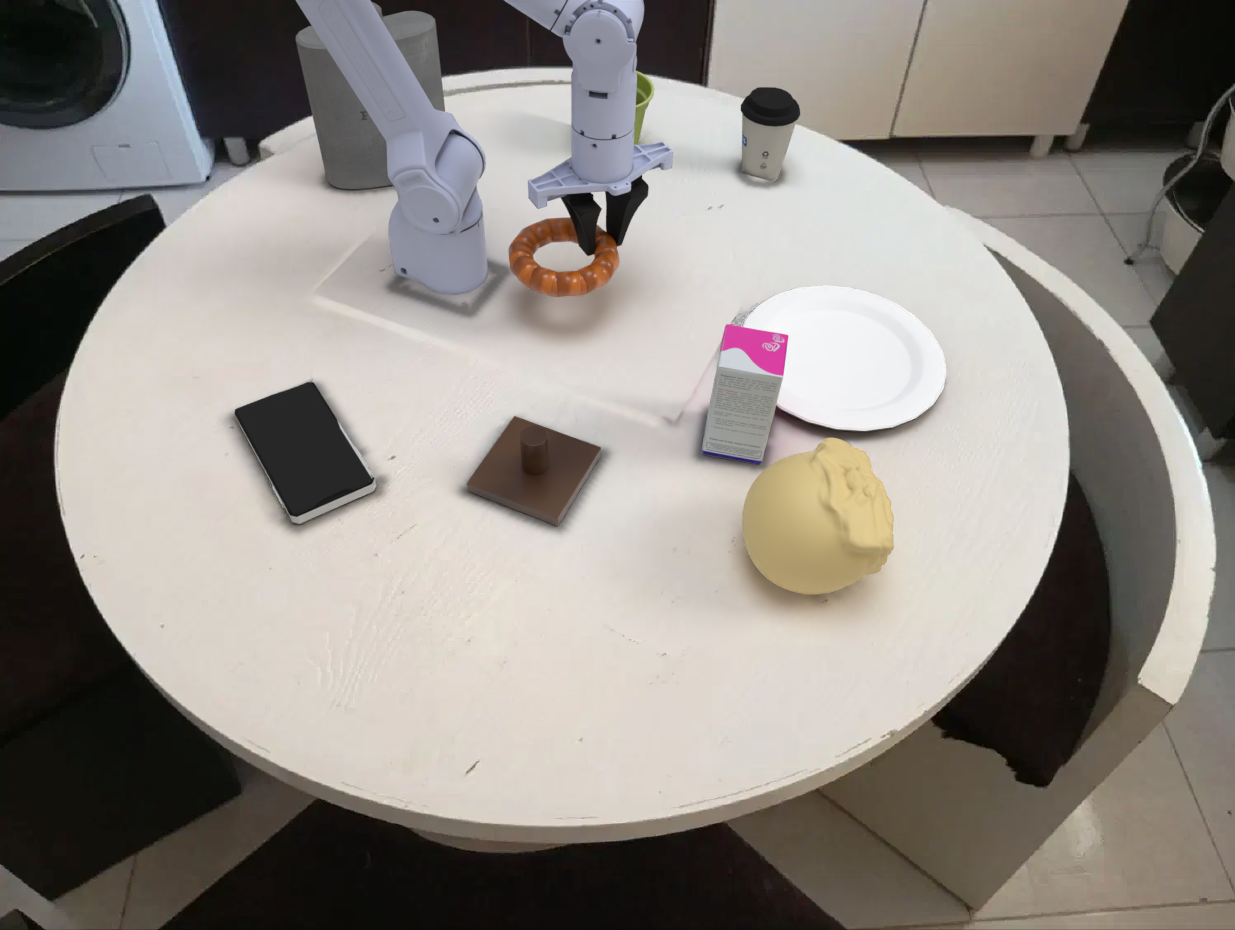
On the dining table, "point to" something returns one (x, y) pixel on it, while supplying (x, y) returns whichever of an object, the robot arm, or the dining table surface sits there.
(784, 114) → the coffee cup
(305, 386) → the smartphone
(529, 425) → the stand
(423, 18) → the flask
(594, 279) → the ring
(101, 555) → the dining table surface
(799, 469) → the sculpture
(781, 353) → the supplement box
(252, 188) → the dining table surface
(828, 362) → the plate
